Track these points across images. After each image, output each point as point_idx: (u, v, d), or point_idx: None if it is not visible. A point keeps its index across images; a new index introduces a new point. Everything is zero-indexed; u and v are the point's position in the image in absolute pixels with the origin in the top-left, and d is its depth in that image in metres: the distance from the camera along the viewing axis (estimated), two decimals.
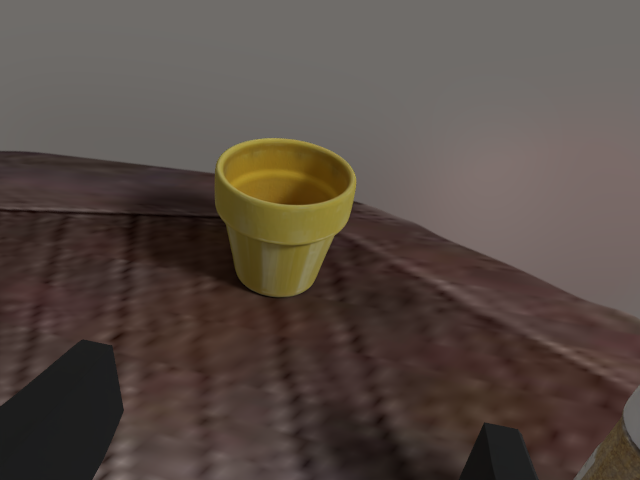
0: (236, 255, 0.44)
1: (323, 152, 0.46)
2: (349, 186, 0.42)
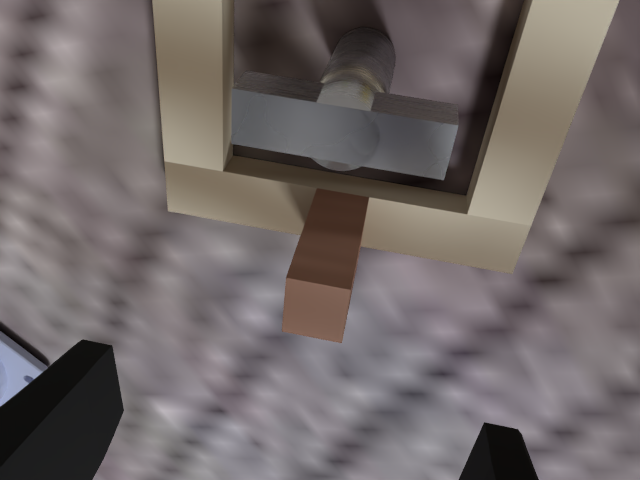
0: None
1: None
2: None
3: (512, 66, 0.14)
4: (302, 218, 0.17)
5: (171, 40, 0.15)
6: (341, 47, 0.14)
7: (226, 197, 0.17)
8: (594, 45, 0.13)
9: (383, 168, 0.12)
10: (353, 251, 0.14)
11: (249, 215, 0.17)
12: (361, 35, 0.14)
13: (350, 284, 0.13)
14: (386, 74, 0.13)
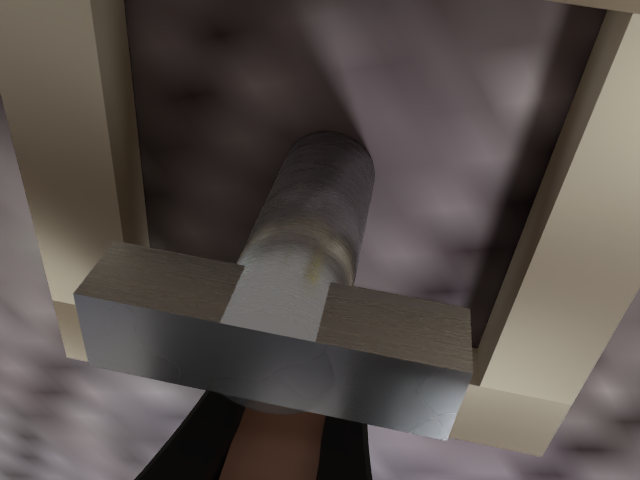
0: None
1: None
2: None
3: (553, 204, 0.09)
4: None
5: (37, 149, 0.10)
6: (288, 172, 0.09)
7: None
8: None
9: (343, 416, 0.07)
10: (308, 476, 0.09)
11: None
12: (320, 151, 0.09)
13: None
14: (355, 226, 0.08)
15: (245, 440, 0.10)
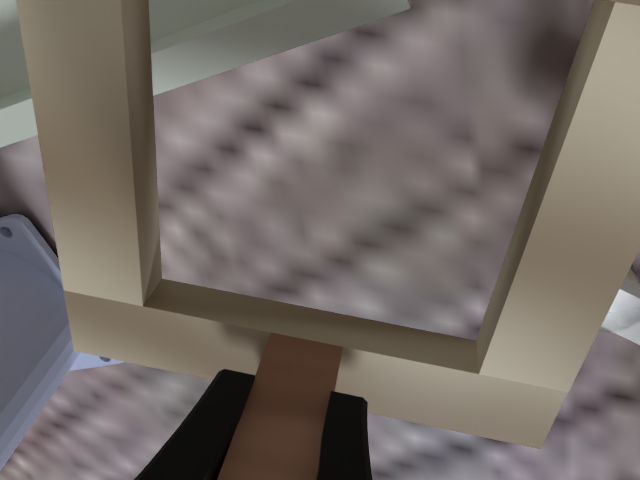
0: None
1: None
2: None
3: (547, 186, 0.09)
4: (252, 368, 0.12)
5: (60, 136, 0.10)
6: None
7: (149, 338, 0.13)
8: None
9: (627, 337, 0.15)
10: (314, 451, 0.10)
11: (181, 361, 0.13)
12: None
13: None
14: None
15: (252, 418, 0.10)
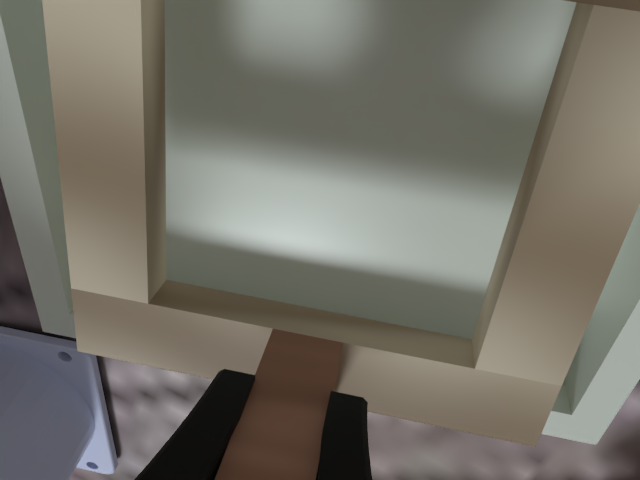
0: None
1: None
2: None
3: (536, 179, 0.10)
4: (254, 366, 0.13)
5: (76, 134, 0.11)
6: None
7: (153, 336, 0.13)
8: None
9: None
10: (317, 434, 0.10)
11: (184, 360, 0.13)
12: None
13: None
14: None
15: (256, 404, 0.10)
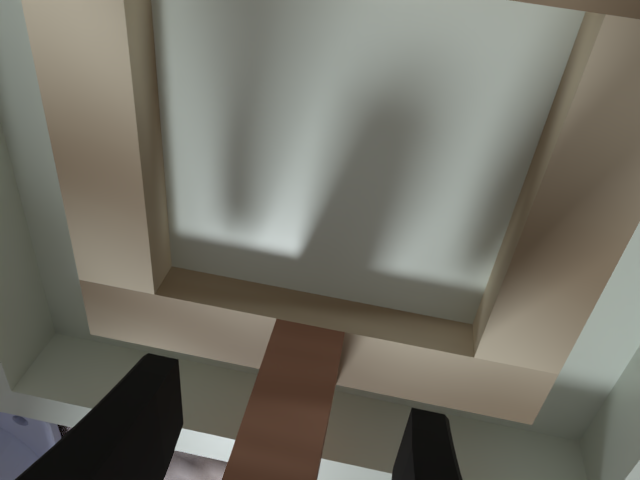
0: None
1: None
2: None
3: (539, 186, 0.10)
4: (259, 350, 0.13)
5: (70, 138, 0.11)
6: None
7: (161, 323, 0.13)
8: None
9: None
10: (318, 434, 0.10)
11: (192, 344, 0.13)
12: None
13: None
14: None
15: (260, 403, 0.11)
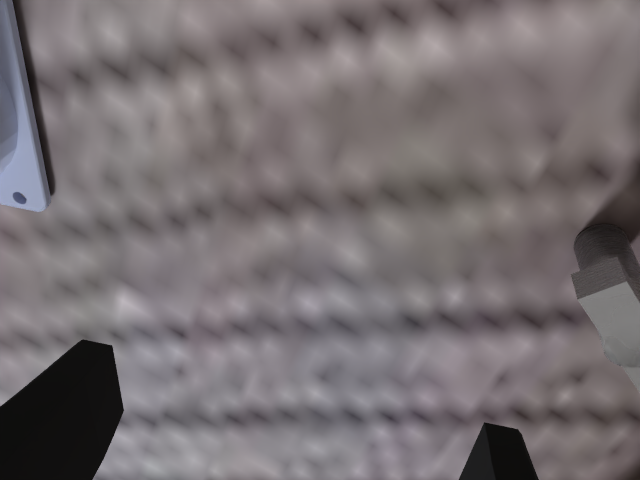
0: None
1: None
2: None
3: None
4: None
5: None
6: (622, 248, 0.17)
7: None
8: None
9: (628, 375, 0.16)
10: None
11: None
12: (629, 245, 0.18)
13: None
14: None
15: None
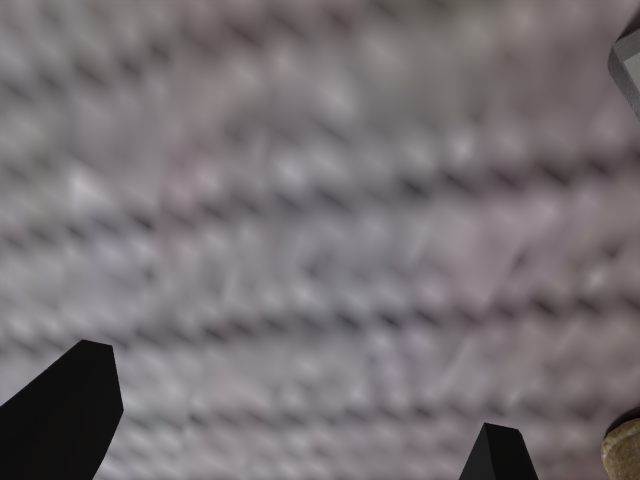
0: None
1: None
2: None
3: None
4: None
5: None
6: None
7: None
8: None
9: None
10: None
11: None
12: None
13: None
14: None
15: None
